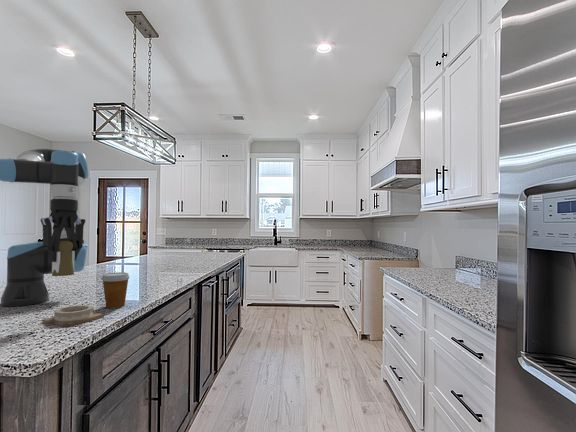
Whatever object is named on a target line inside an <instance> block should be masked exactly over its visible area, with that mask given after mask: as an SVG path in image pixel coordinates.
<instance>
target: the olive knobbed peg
mask: <svg viewBox="0 0 576 432" xmlns="http://www.w3.org/2000/svg"><path fill="white" fill-rule="evenodd" d="M72 249H73V243H72V242H71V241H60V242H59V247H58V251H57V252H60V265H59V272H58V273H56V270H55V269H54V271H53V272H52V274H51V277H65V276H67V277H68V276H73V275H75V272H74V269H73V262H72V255H71V250H72Z"/></svg>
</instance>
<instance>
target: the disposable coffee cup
mask: <svg viewBox="0 0 576 432" xmlns="http://www.w3.org/2000/svg"><path fill="white" fill-rule="evenodd" d="M101 276H102V277H101V281H102V284H103V293H104V295H103V296H104V301H105V302H104V303H105V307H106V308H107V309H117V308H122V307H124V306H125V304H126V297H127V291H128V283H129V279H130V274H129V272H123V271H122V272H118V271H117V272H107V273H103V274H102V275H101Z"/></svg>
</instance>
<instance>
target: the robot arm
mask: <svg viewBox="0 0 576 432" xmlns="http://www.w3.org/2000/svg"><path fill="white" fill-rule="evenodd" d="M88 178H89V171H88V161H87V157H86V154H84V153H83V152H81V151H75V150H72V151H71V150H62V149H61V150H60V149H51V148H50V149H48V148H37V149H30V150H26V151H23V152H21V153H19V155H18V156H17V158H0V181H1V182H8V183H23V184H24V183H25V184H29V183H31V184H43V185H45V184H46V185H50V194H49V195H50V198H52V199H50V201H49V203H50V205H49V207H50V209H49V210H50V214H49V216H48V217H42V218H40V223H41V225H42V241H35V242H27V243H20V244H15V245H14V244H13V245H11V246H10V247H8V250H7V256H6V259H7V264H6V265H7V266H6V267H7V269H6V270H7V271H6V284H5V288H4V290H3V292H2V296H1V298H0V306H2V307H22V306H23V307H24V306H31V305H38V304H41V303H45V302H47V301H49V300H50V293H49V291H48V289H47V286H46V283H45V280H44V279H45V275H52V272H53V271H54V269H55V270H56V273H58V272H59V265H60V252H57V251H58V247H59V242H60V241H71V242H72V243H73V249H72V250H71V255H72V262H73V269H74V273H79V272H82V271H84V269H85V266H86V259H87V253H88V246H89V244H88V243H85V240H84V227H85V226H84V225H85V223H86V219H85V218H81V185H82V184H84V183H85V180H86V179H88ZM52 224H53V225H52Z"/></svg>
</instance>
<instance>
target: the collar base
mask: <svg viewBox="0 0 576 432" xmlns="http://www.w3.org/2000/svg"><path fill="white" fill-rule="evenodd" d="M53 311H54V313H53V315H54V316H52V317H47V318H43V319H42V322H41V323H42V324H47V325H55V326H61V327H67V328H71V327H74V326H79V325H82V324H85V323H88V322H92V321H95V320H98V318H99V319H102V318H104V317H105V314H104V313H98V312H94V306H92V305H89V304H77V305H76V304H75V305H68V306H63V307H58V308H57V309H54V310H53Z"/></svg>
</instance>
